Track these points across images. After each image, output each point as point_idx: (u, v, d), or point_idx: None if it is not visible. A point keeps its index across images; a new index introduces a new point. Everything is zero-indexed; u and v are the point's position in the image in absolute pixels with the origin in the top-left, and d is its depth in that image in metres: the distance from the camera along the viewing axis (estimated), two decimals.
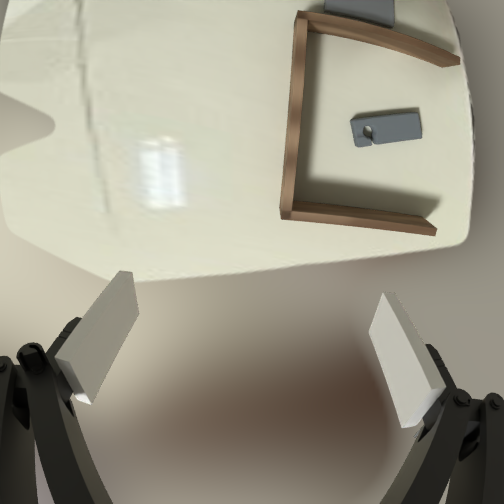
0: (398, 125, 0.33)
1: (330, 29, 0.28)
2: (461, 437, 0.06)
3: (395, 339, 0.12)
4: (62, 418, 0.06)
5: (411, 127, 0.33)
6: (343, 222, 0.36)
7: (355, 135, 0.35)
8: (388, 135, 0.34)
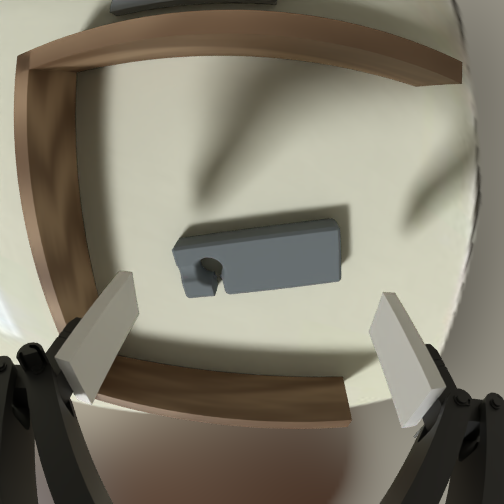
0: (280, 258, 0.18)
1: (100, 59, 0.12)
2: (461, 437, 0.06)
3: (395, 339, 0.12)
4: (62, 418, 0.06)
5: (314, 261, 0.18)
6: (172, 415, 0.21)
7: (181, 275, 0.19)
8: (253, 279, 0.18)
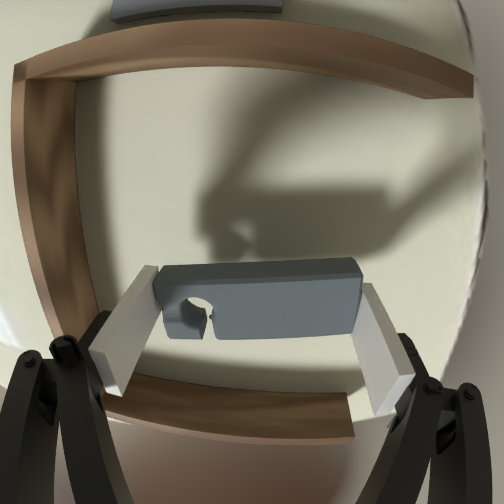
0: (286, 306, 0.14)
1: (99, 69, 0.12)
2: (435, 425, 0.07)
3: (368, 328, 0.13)
4: (92, 413, 0.07)
5: (327, 311, 0.14)
6: (173, 431, 0.20)
7: (163, 312, 0.15)
8: (250, 326, 0.15)
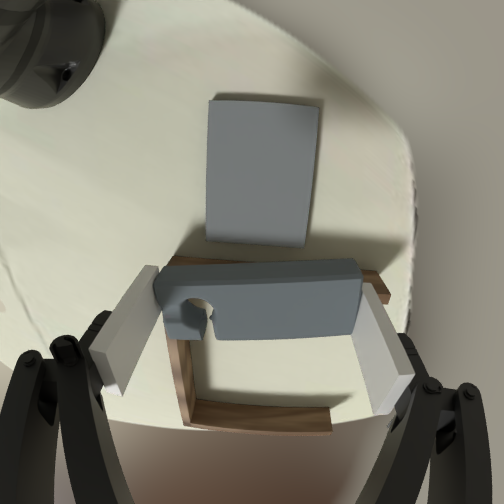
0: (286, 307, 0.14)
1: None
2: (435, 425, 0.07)
3: (368, 328, 0.13)
4: (92, 413, 0.07)
5: (327, 312, 0.14)
6: (235, 431, 0.38)
7: (163, 313, 0.15)
8: (250, 327, 0.15)
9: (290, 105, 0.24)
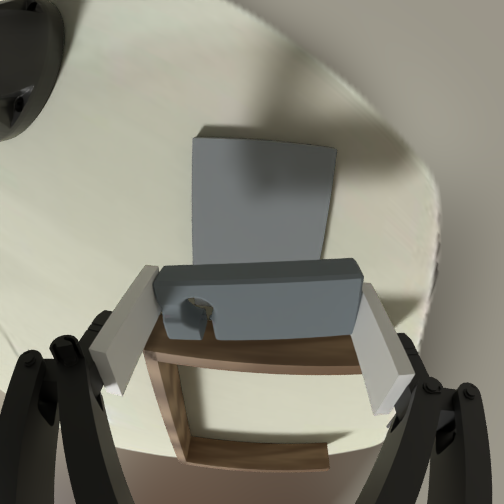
0: (286, 307, 0.14)
1: None
2: (435, 425, 0.07)
3: (368, 328, 0.13)
4: (92, 413, 0.07)
5: (327, 312, 0.14)
6: (232, 469, 0.35)
7: (163, 312, 0.15)
8: (250, 327, 0.15)
9: (300, 146, 0.19)
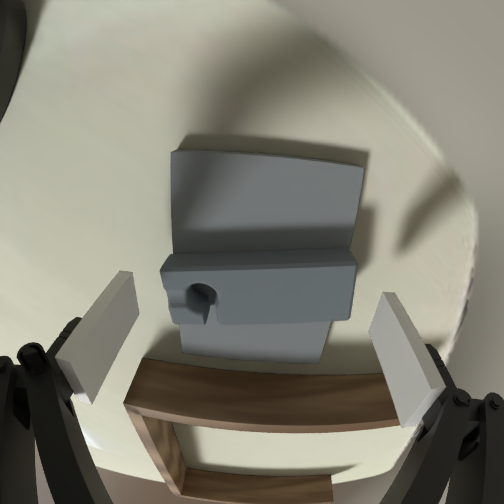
0: (285, 292, 0.15)
1: None
2: (461, 437, 0.06)
3: (395, 339, 0.12)
4: (62, 418, 0.06)
5: (324, 298, 0.15)
6: (229, 503, 0.29)
7: None
8: (251, 312, 0.16)
9: (315, 163, 0.14)
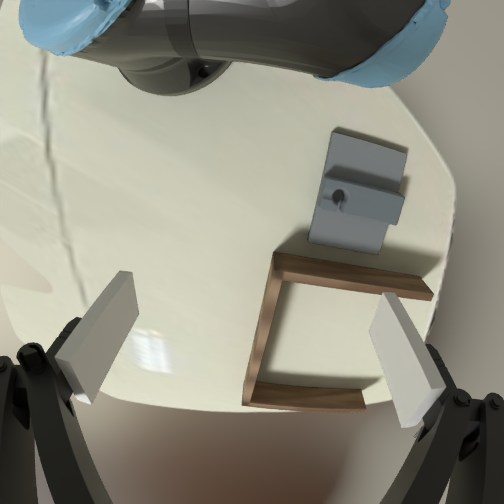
0: (376, 202, 0.32)
1: None
2: (461, 437, 0.06)
3: (395, 340, 0.12)
4: (62, 418, 0.06)
5: (389, 209, 0.32)
6: (288, 409, 0.45)
7: (322, 194, 0.32)
8: (359, 208, 0.32)
9: (389, 149, 0.31)
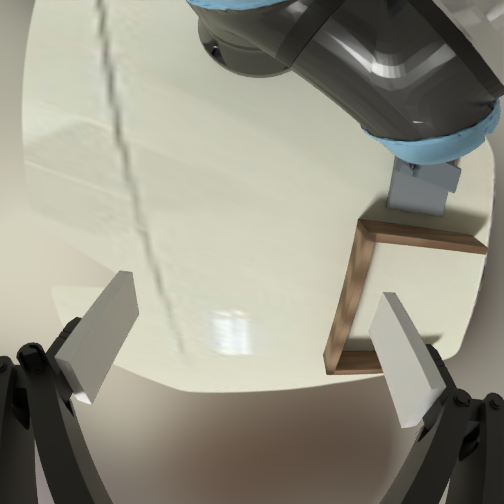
0: (441, 171, 0.33)
1: None
2: (461, 437, 0.06)
3: (395, 339, 0.12)
4: (62, 418, 0.06)
5: (450, 179, 0.33)
6: (368, 372, 0.47)
7: (401, 160, 0.33)
8: (429, 175, 0.33)
9: None
